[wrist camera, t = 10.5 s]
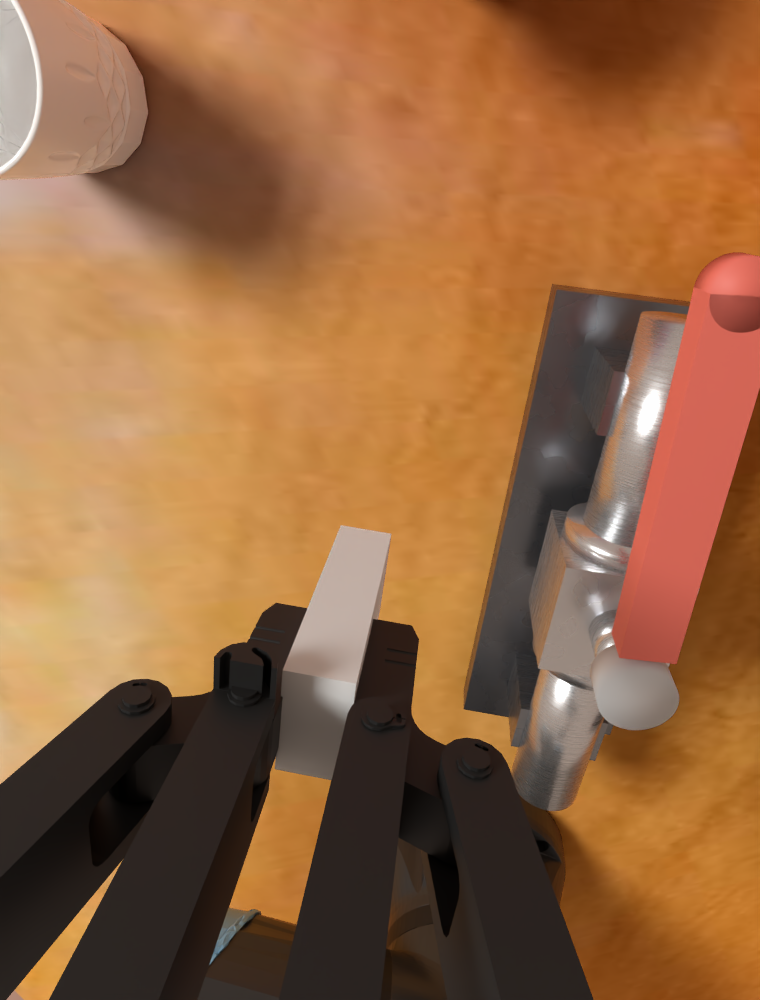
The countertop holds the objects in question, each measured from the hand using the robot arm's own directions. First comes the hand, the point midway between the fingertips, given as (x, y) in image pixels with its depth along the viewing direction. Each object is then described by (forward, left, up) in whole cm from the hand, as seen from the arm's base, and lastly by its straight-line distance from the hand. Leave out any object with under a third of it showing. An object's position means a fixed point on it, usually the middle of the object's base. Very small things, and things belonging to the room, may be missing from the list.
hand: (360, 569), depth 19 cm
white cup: (+12, +19, -20) cm, 30 cm away
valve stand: (-8, -11, -20) cm, 24 cm away
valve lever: (0, -11, -7) cm, 13 cm away
